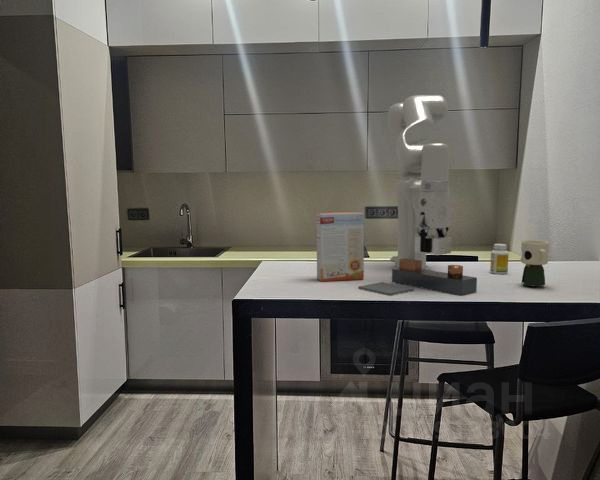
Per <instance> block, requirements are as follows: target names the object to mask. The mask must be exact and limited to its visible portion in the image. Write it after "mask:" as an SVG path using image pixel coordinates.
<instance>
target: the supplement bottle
mask: <svg viewBox="0 0 600 480" xmlns="http://www.w3.org/2000/svg"><path fill="white" fill-rule="evenodd" d="M507 249H508V248H507V244H505V243H494V244H493V249H492V250H491V252H490V271H489V272H490V273H491V274H494V275H495V274H496V275H507V274H508V271H509V251H508V250H507ZM506 273H507V274H506Z"/></svg>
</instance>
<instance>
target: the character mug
mask: <svg viewBox="0 0 600 480" xmlns="http://www.w3.org/2000/svg"><path fill="white" fill-rule="evenodd" d="M520 249H521V257H520V261H521V263H522V264H523V265H524V264H525V265H524V267H523V273H522V278H521V285H523V286H528V287H535V288H537V287H538V286H545V285H546V277H545V276H546V275H545V268H544V266H543V265H548V263H549V253H550V252H549V249H550V242H549V241H545V240H536V239H535V240H531V239H530V240H522V241H521V247H520Z"/></svg>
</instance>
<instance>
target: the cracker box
mask: <svg viewBox="0 0 600 480" xmlns="http://www.w3.org/2000/svg"><path fill="white" fill-rule="evenodd" d="M315 215H316V216H315V217H316V218H315V220H316V221H315V222H316V225H315V226H316V230H315V231H316V235H315V236H316V279H317V280H319V282H336V281H356V280H358V281H359V280H364V277H365V274H364V273H365V264H364V263H365V255H364V252H365V246H364V245H365V244H364V243H365V239H364V238H365V233H364V231H365V230H364V229H365V227H364V226H365V225H364V224H365V223H364V221H365V220H364V219H365V218H364V212H359V211H356V212H355V211H353V212H351V211H350V212H321V213H320V212H319V213H318V212H317V213H316V214H315Z"/></svg>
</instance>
